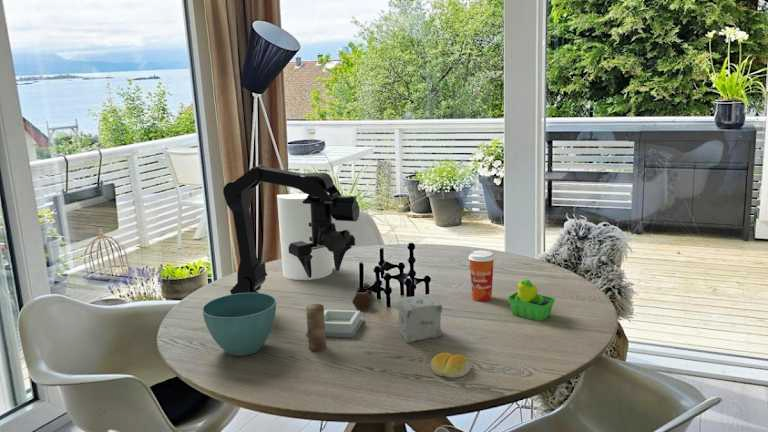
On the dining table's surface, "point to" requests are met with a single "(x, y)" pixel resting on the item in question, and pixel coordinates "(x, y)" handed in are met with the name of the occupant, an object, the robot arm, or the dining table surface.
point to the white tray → (341, 323)
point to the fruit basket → (530, 302)
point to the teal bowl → (240, 321)
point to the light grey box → (419, 317)
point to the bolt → (362, 298)
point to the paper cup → (481, 275)
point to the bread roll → (450, 365)
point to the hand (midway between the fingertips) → (323, 273)
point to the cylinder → (299, 238)
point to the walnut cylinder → (316, 327)
